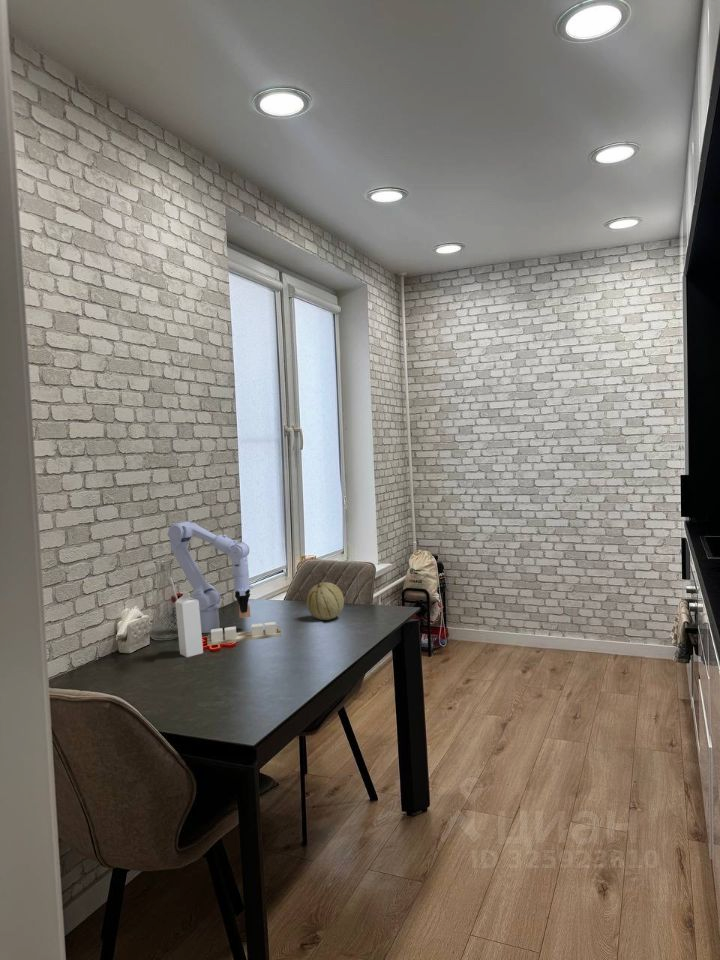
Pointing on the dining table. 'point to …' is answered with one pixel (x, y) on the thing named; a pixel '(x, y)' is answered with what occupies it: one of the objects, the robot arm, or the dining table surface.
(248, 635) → the rack
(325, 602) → the cantaloupe
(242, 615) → the block terracotta
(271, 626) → the cream block
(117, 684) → the dining table surface
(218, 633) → the cream block
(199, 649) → the milk
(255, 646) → the dining table surface
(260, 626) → the cream block
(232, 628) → the cream block
